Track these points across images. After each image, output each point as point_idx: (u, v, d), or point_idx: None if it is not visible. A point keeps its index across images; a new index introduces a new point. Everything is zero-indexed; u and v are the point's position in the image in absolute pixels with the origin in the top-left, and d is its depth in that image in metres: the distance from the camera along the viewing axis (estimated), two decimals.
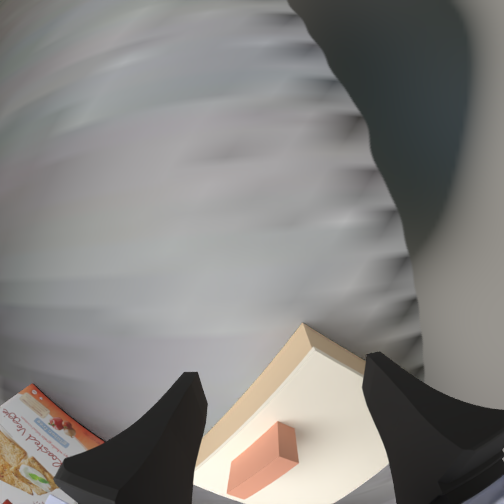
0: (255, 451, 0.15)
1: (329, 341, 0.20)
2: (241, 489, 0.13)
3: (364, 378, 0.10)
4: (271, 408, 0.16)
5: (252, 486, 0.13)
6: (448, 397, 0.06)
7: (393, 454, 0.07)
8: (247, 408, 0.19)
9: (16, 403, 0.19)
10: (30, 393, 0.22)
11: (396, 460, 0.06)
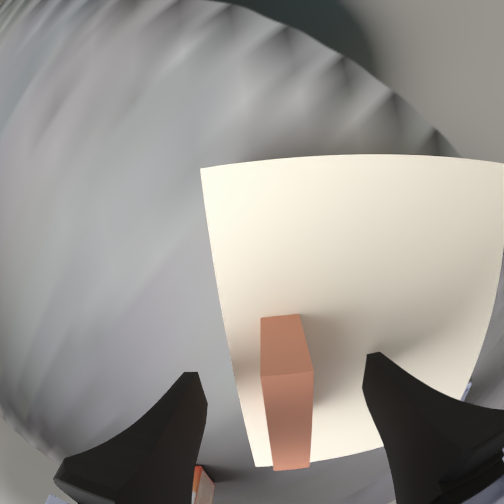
0: None
1: None
2: (283, 457, 0.08)
3: (364, 378, 0.10)
4: (231, 303, 0.10)
5: (291, 446, 0.08)
6: (448, 397, 0.06)
7: (393, 454, 0.07)
8: None
9: None
10: None
11: (396, 460, 0.06)
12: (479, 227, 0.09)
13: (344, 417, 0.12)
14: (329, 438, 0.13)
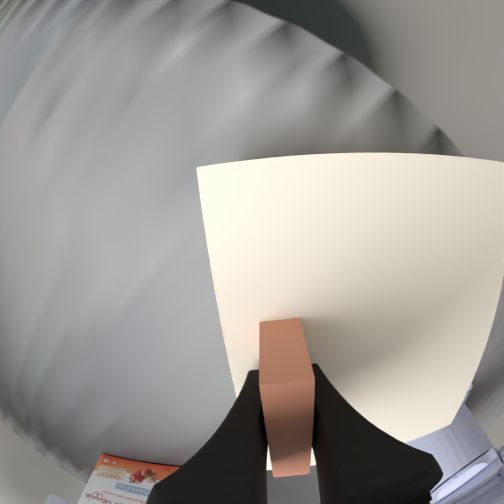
0: None
1: None
2: (282, 464, 0.08)
3: None
4: (229, 306, 0.10)
5: (291, 453, 0.08)
6: (368, 424, 0.06)
7: (319, 472, 0.07)
8: None
9: (94, 481, 0.18)
10: (103, 464, 0.21)
11: (320, 479, 0.06)
12: (483, 228, 0.09)
13: None
14: None
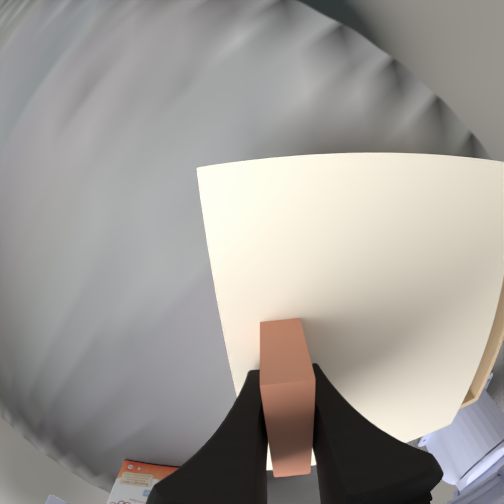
0: None
1: None
2: (283, 464, 0.08)
3: None
4: (229, 307, 0.10)
5: (292, 453, 0.08)
6: (368, 424, 0.06)
7: (319, 472, 0.07)
8: None
9: (119, 489, 0.18)
10: (127, 470, 0.21)
11: (320, 479, 0.06)
12: (484, 227, 0.09)
13: None
14: None
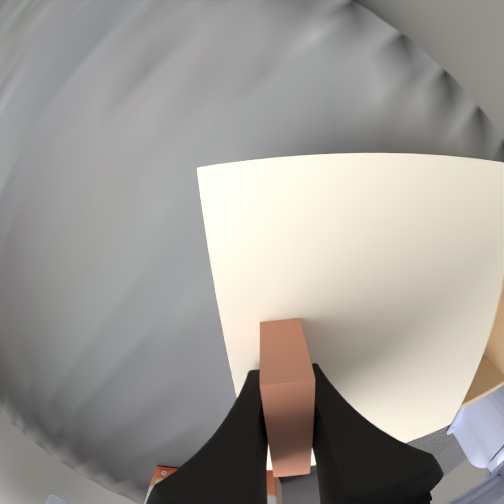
0: None
1: None
2: (283, 464, 0.08)
3: None
4: (229, 307, 0.10)
5: (291, 453, 0.08)
6: (368, 424, 0.06)
7: (319, 472, 0.07)
8: None
9: None
10: (161, 477, 0.21)
11: (320, 479, 0.06)
12: (484, 228, 0.09)
13: None
14: None
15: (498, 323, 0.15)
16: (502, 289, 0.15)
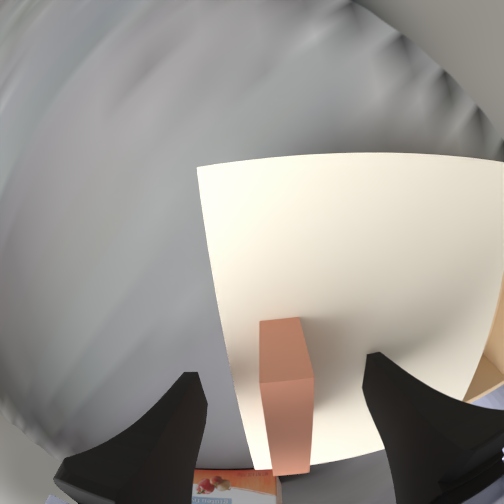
0: None
1: None
2: (282, 462, 0.08)
3: (364, 378, 0.10)
4: (229, 305, 0.10)
5: (291, 452, 0.08)
6: (448, 397, 0.06)
7: (393, 454, 0.07)
8: None
9: None
10: None
11: (396, 460, 0.06)
12: (482, 227, 0.09)
13: (344, 420, 0.12)
14: (329, 441, 0.12)
15: (498, 322, 0.15)
16: (502, 289, 0.15)
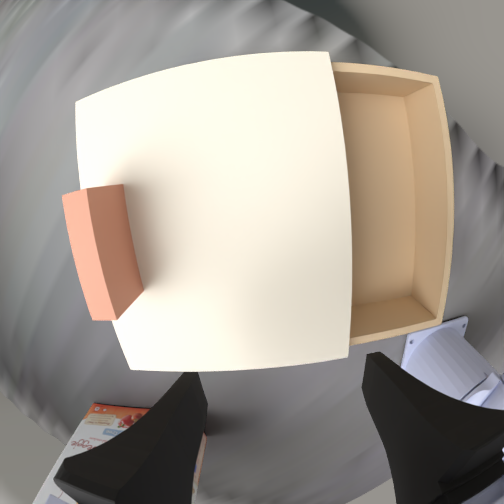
0: None
1: None
2: (91, 296, 0.11)
3: (364, 378, 0.10)
4: (85, 180, 0.13)
5: (91, 278, 0.11)
6: (448, 397, 0.06)
7: (393, 454, 0.07)
8: None
9: (82, 429, 0.20)
10: (93, 412, 0.23)
11: (396, 460, 0.06)
12: (291, 104, 0.12)
13: (186, 305, 0.15)
14: (182, 335, 0.15)
15: (418, 253, 0.18)
16: (414, 213, 0.18)
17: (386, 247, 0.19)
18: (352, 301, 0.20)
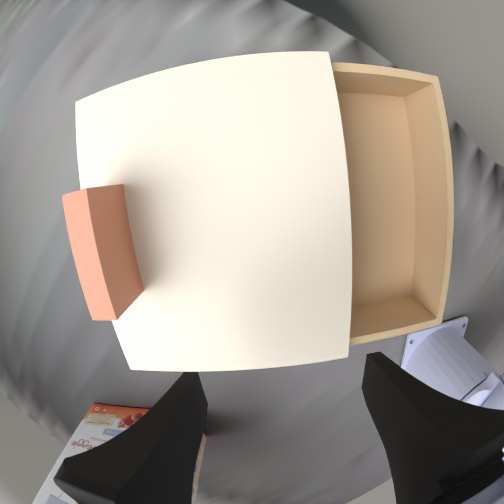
0: None
1: None
2: (91, 296, 0.11)
3: (364, 378, 0.10)
4: (85, 180, 0.13)
5: (91, 278, 0.11)
6: (448, 397, 0.06)
7: (393, 454, 0.07)
8: None
9: (82, 429, 0.20)
10: (93, 412, 0.23)
11: (396, 460, 0.06)
12: (291, 104, 0.12)
13: (186, 305, 0.15)
14: (182, 335, 0.15)
15: (418, 253, 0.18)
16: (414, 213, 0.18)
17: (386, 247, 0.19)
18: (352, 301, 0.20)
